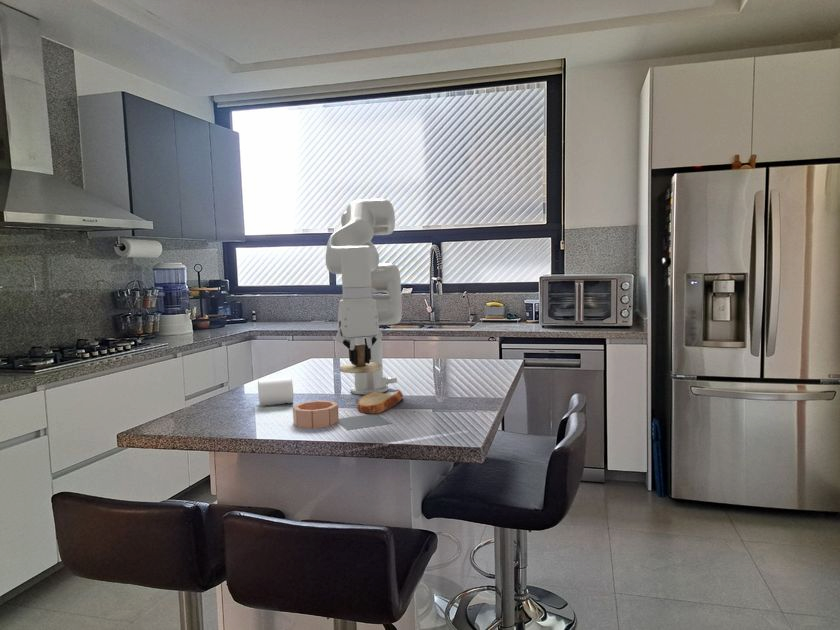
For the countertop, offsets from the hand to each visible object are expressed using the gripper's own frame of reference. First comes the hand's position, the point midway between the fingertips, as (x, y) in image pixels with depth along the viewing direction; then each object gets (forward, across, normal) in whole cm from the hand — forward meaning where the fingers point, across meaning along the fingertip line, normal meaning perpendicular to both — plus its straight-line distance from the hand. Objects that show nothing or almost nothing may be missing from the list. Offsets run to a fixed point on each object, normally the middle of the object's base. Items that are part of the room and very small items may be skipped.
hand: (360, 362), depth 153 cm
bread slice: (+16, -11, -14) cm, 24 cm away
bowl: (+16, +11, -5) cm, 20 cm away
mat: (+16, 0, +1) cm, 16 cm away
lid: (+2, 0, 0) cm, 2 cm away
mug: (+17, +16, -37) cm, 44 cm away
